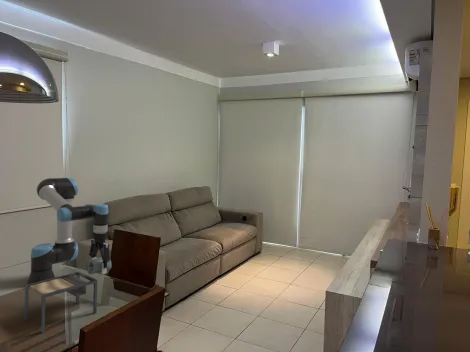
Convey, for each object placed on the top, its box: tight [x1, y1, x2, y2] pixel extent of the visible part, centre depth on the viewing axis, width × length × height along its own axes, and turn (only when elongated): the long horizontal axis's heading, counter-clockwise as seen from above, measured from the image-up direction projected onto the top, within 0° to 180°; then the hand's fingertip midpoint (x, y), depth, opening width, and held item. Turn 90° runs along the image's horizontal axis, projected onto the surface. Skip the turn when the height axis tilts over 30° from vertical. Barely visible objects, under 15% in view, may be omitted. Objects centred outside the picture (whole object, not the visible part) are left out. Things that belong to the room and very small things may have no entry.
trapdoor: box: [29, 275, 87, 297], centre depth 174 cm, size 21×14×6 cm
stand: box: [24, 271, 98, 334], centre depth 176 cm, size 27×18×18 cm, turn 143°
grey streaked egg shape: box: [85, 256, 112, 275], centre depth 197 cm, size 14×10×10 cm
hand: (98, 271), depth 197 cm, fingers closed on grey streaked egg shape, 9 cm apart
